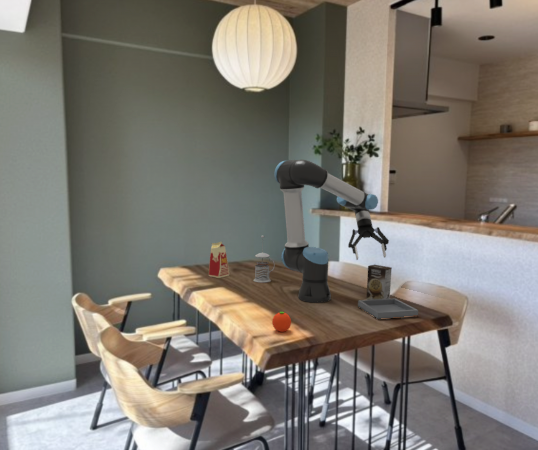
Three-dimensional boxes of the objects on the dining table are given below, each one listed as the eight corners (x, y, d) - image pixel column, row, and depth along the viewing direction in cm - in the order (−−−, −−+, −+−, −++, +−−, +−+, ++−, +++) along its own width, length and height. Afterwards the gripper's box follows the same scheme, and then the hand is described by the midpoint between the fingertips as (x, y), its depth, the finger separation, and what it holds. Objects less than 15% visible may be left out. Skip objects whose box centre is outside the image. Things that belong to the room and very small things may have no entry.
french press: (253, 278, 242) (254, 233, 240) (274, 278, 242) (275, 234, 240) (252, 282, 233) (253, 236, 230) (274, 282, 232) (274, 236, 230)
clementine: (271, 327, 162) (271, 308, 161) (289, 327, 162) (290, 308, 162) (272, 334, 154) (273, 315, 153) (292, 334, 154) (292, 315, 154)
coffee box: (365, 299, 201) (367, 265, 200) (372, 297, 206) (374, 264, 204) (383, 303, 195) (385, 268, 193) (390, 301, 200) (392, 266, 198)
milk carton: (229, 275, 249) (229, 240, 247) (219, 278, 241) (219, 242, 239) (217, 273, 254) (217, 239, 251) (206, 276, 246) (206, 241, 244)
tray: (377, 320, 172) (378, 312, 172) (357, 307, 189) (358, 300, 189) (417, 317, 176) (418, 310, 176) (394, 304, 194) (395, 298, 193)
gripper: (387, 223, 228) (395, 258, 217) (339, 227, 230) (345, 263, 219) (388, 215, 222) (397, 251, 211) (340, 220, 224) (346, 256, 212)
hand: (371, 257), depth 215 cm, fingers open, 13 cm apart
